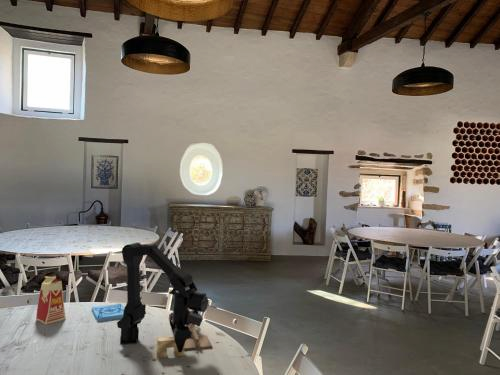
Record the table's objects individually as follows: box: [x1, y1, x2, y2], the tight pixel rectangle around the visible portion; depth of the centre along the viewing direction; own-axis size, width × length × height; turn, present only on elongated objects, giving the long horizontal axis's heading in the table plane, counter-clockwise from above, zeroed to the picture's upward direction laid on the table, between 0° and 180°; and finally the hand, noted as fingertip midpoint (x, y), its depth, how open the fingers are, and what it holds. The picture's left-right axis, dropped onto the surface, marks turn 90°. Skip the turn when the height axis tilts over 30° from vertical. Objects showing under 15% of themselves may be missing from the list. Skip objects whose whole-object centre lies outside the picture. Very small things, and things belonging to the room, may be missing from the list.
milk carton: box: [35, 275, 66, 325], centre depth 173 cm, size 9×9×20 cm
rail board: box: [184, 329, 213, 351], centre depth 159 cm, size 12×10×4 cm
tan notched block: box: [155, 336, 185, 359], centre depth 148 cm, size 10×3×6 cm, turn 108°
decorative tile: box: [91, 303, 125, 322], centre depth 184 cm, size 14×14×2 cm
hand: (178, 346), depth 149 cm, fingers open, 9 cm apart
